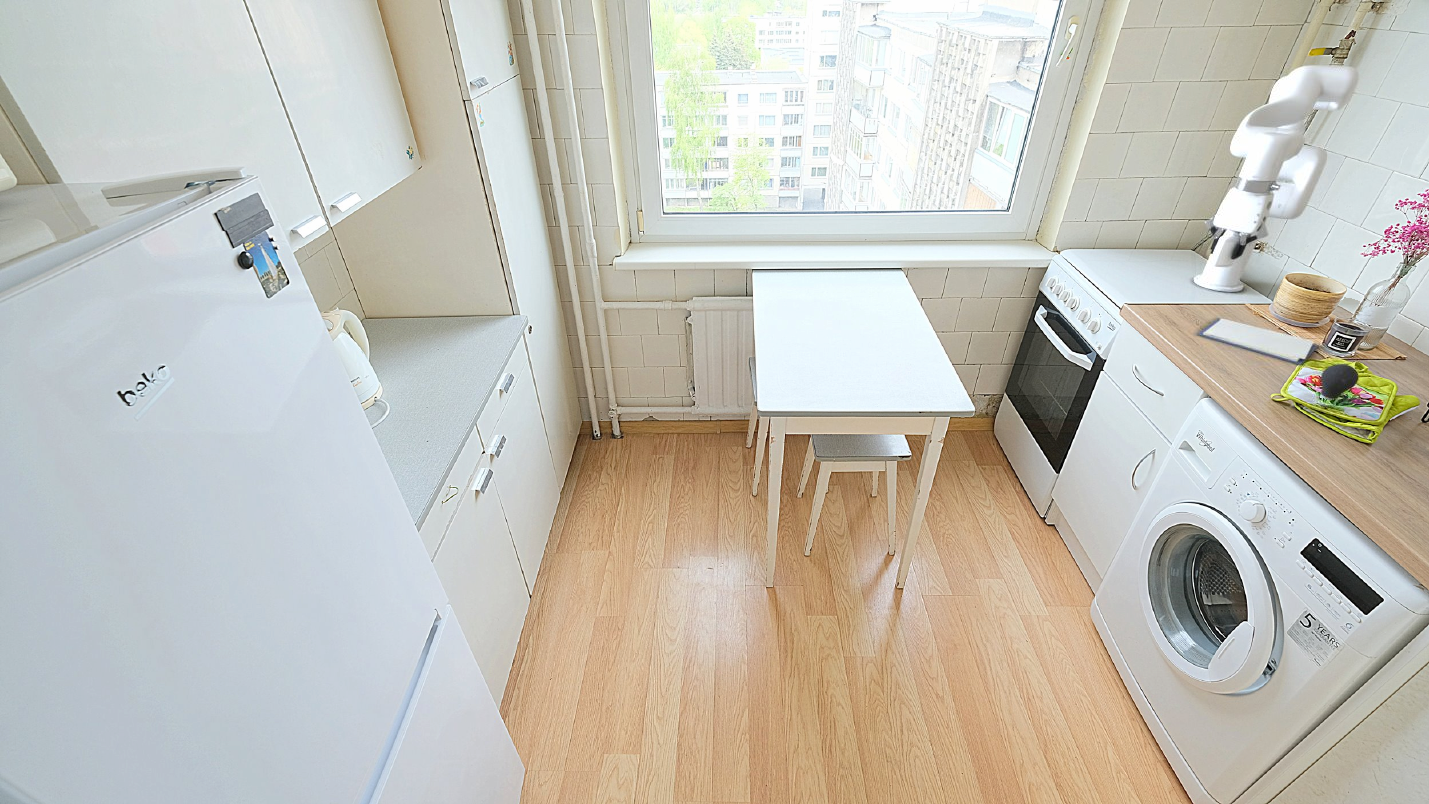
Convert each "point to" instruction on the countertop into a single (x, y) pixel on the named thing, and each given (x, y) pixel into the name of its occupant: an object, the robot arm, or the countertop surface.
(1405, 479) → the countertop surface
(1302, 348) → the grey flat slab
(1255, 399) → the countertop surface
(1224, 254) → the eye dropper bottle
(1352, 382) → the light bulb
